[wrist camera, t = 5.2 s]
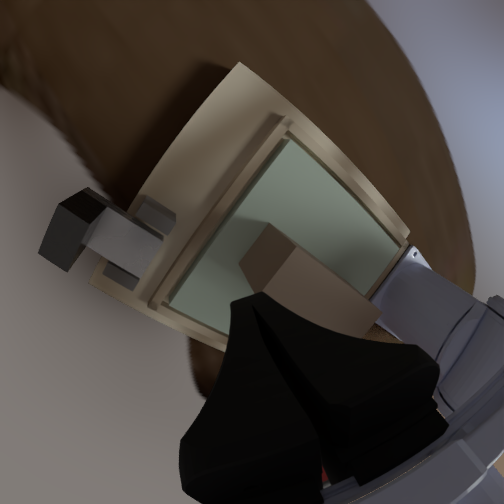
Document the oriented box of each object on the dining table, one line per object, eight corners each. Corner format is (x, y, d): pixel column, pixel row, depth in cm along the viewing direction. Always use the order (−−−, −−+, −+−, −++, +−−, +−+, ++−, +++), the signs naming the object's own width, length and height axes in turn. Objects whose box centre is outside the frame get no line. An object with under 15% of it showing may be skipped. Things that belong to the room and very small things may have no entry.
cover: (391, 244, 21) (435, 269, 16) (298, 358, 23) (323, 401, 18) (284, 139, 16) (326, 140, 11) (168, 297, 18) (170, 347, 13)
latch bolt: (164, 235, 15) (161, 268, 11) (142, 270, 15) (134, 311, 11) (87, 186, 13) (58, 203, 9) (68, 224, 13) (37, 253, 9)
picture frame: (395, 224, 23) (426, 239, 19) (283, 362, 25) (299, 393, 22) (232, 69, 15) (248, 51, 12) (94, 269, 18) (80, 299, 14)
